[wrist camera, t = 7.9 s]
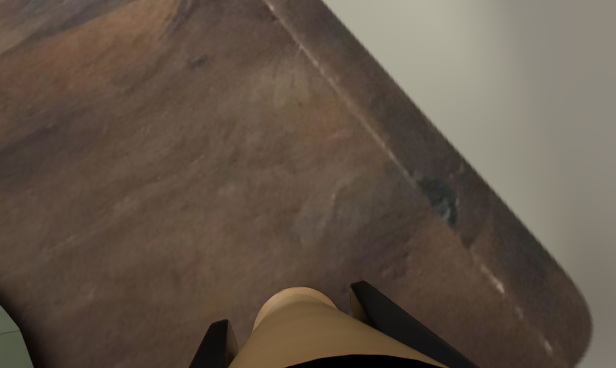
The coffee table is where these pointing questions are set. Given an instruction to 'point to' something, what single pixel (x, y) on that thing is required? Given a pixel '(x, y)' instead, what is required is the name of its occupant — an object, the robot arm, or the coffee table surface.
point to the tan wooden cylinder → (319, 337)
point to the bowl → (12, 344)
